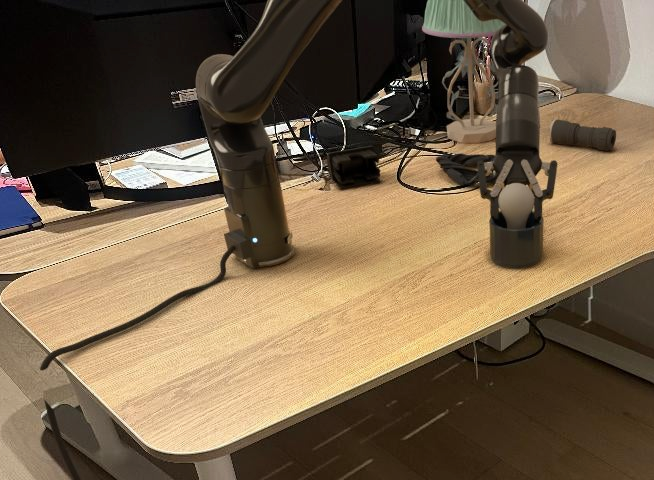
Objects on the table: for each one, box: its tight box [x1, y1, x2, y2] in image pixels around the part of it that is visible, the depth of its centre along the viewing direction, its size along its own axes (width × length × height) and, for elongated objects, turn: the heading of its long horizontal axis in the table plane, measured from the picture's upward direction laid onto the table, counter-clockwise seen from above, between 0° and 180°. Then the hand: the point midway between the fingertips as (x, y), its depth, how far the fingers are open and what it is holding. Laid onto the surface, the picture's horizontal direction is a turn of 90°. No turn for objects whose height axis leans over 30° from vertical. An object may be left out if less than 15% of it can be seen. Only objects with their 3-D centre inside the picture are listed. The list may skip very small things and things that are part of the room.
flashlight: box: [548, 118, 617, 152], centre depth 177 cm, size 15×5×5 cm, turn 62°
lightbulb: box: [498, 183, 534, 229], centre depth 127 cm, size 6×6×11 cm
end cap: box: [326, 145, 382, 191], centre depth 161 cm, size 10×7×7 cm
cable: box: [435, 153, 499, 187], centre depth 164 cm, size 17×14×4 cm
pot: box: [488, 210, 545, 269], centre depth 130 cm, size 9×9×7 cm
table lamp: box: [421, 0, 505, 144], centre depth 176 cm, size 22×22×40 cm
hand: (516, 220), depth 126 cm, fingers closed on lightbulb, 6 cm apart
